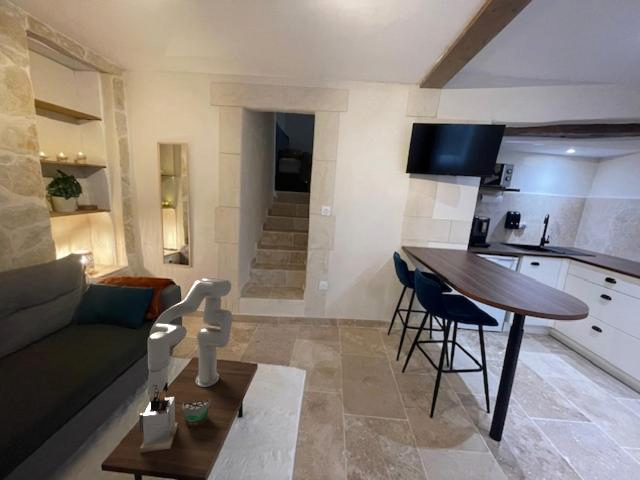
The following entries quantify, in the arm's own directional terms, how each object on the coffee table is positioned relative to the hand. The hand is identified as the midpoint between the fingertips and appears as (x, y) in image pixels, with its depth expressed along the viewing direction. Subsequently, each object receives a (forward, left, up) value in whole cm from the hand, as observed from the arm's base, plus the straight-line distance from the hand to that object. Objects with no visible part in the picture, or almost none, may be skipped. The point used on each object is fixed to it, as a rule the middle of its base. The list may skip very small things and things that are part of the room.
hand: (159, 399), depth 110 cm
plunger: (0, 0, -17) cm, 17 cm away
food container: (-5, +13, -19) cm, 24 cm away
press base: (0, 0, -19) cm, 19 cm away
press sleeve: (0, -1, -17) cm, 17 cm away
